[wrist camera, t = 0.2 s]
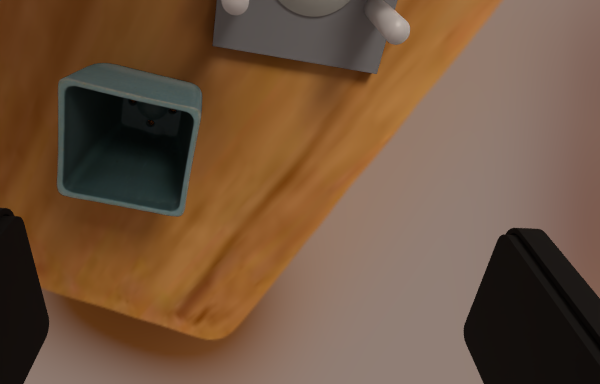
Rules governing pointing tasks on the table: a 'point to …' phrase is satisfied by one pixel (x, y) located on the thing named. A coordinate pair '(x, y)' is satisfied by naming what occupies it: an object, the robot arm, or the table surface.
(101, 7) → the table surface
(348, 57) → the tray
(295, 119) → the table surface
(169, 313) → the table surface
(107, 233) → the table surface
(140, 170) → the flower pot
